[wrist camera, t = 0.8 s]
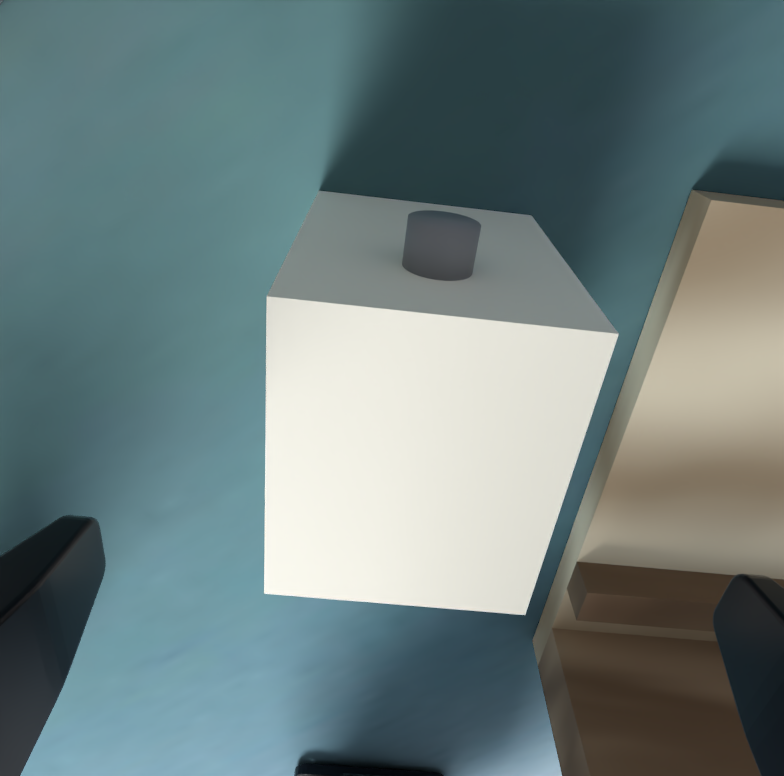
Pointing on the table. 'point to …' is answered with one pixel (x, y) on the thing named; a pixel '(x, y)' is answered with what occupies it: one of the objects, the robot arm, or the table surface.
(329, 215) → the white knobbed block
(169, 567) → the table surface
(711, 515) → the cleat board
